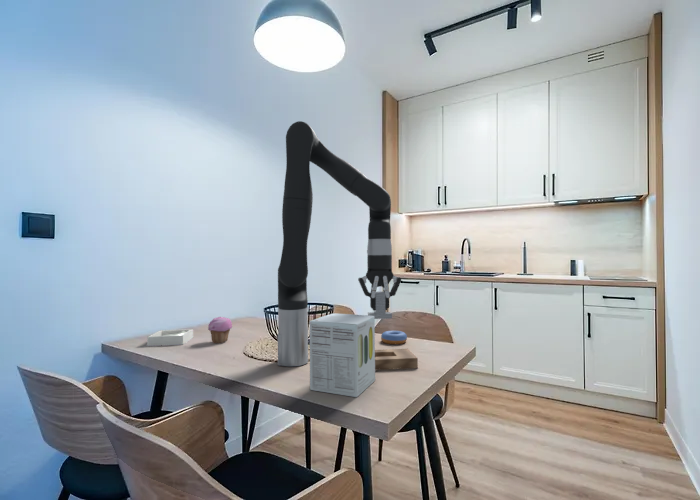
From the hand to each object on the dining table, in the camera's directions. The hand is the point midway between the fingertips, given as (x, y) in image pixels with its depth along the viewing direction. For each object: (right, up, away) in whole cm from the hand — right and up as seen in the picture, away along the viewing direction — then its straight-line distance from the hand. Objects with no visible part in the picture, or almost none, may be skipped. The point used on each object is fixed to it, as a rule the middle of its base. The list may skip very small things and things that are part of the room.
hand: (379, 309), depth 112 cm
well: (0, -17, 0) cm, 17 cm away
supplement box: (-11, -17, -18) cm, 27 cm away
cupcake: (-60, -18, +31) cm, 70 cm away
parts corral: (-81, -18, +33) cm, 89 cm away
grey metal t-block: (0, -3, 0) cm, 3 cm away
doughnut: (+8, -18, +29) cm, 35 cm away
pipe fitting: (-80, -19, +33) cm, 88 cm away
